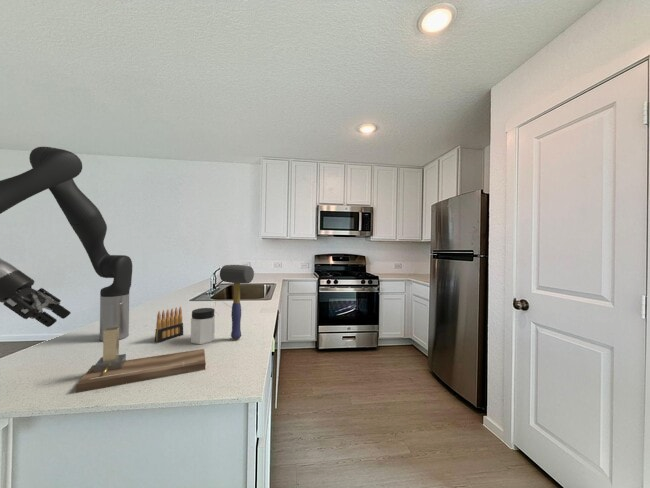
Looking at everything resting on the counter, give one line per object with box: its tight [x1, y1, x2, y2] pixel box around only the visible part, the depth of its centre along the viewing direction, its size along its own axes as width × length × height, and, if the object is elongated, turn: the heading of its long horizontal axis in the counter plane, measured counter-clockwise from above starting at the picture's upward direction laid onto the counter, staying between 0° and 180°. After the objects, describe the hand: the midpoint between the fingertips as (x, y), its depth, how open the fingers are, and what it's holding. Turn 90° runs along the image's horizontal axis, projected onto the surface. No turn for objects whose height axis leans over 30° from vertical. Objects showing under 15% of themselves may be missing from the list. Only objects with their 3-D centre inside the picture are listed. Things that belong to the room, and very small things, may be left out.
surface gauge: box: [94, 327, 127, 373], centre depth 76 cm, size 10×6×11 cm, turn 26°
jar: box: [190, 307, 216, 345], centre depth 105 cm, size 9×8×12 cm
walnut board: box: [75, 348, 207, 393], centre depth 79 cm, size 12×30×2 cm, turn 116°
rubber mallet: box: [219, 264, 255, 341], centre depth 106 cm, size 12×8×30 cm, turn 70°
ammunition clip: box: [154, 306, 184, 344], centre depth 107 cm, size 11×2×12 cm, turn 153°
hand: (60, 319), depth 73 cm, fingers open, 8 cm apart
